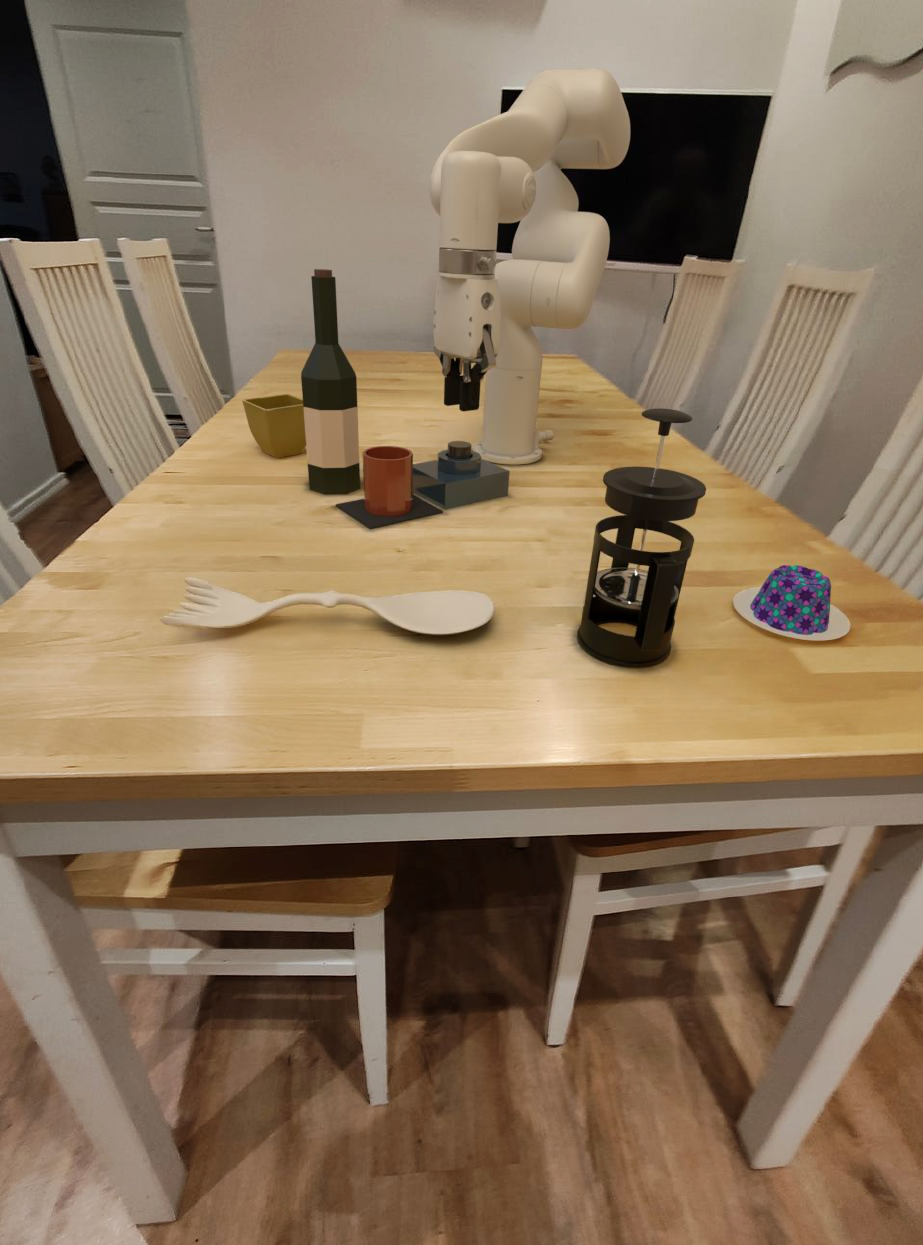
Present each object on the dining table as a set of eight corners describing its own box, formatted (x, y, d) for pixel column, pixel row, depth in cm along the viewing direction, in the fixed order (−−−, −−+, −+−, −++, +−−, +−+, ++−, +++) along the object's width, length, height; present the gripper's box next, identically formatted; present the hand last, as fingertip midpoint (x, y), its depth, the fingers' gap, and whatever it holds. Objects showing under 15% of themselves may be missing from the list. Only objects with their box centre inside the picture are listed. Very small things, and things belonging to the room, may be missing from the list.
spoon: (190, 601, 72) (185, 572, 70) (488, 604, 74) (490, 575, 73) (163, 647, 64) (156, 615, 62) (497, 647, 67) (500, 617, 65)
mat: (405, 492, 104) (405, 490, 104) (443, 513, 97) (443, 510, 97) (335, 506, 98) (335, 504, 98) (370, 529, 91) (370, 527, 91)
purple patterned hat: (864, 653, 69) (882, 608, 66) (741, 638, 70) (754, 593, 68) (829, 599, 79) (844, 558, 76) (723, 587, 81) (734, 546, 78)
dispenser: (469, 478, 112) (471, 441, 109) (507, 496, 105) (510, 458, 102) (407, 490, 105) (407, 451, 102) (444, 510, 99) (446, 469, 96)
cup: (396, 496, 101) (395, 443, 97) (421, 510, 97) (422, 455, 93) (356, 504, 98) (354, 449, 94) (380, 519, 93) (378, 462, 89)
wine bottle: (351, 497, 101) (341, 273, 86) (298, 492, 103) (280, 269, 87) (368, 480, 108) (362, 270, 93) (319, 475, 110) (305, 266, 95)
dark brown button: (461, 452, 105) (462, 439, 104) (475, 459, 102) (476, 445, 101) (442, 456, 103) (443, 442, 102) (456, 462, 100) (457, 448, 99)
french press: (564, 617, 73) (595, 396, 61) (648, 615, 74) (694, 398, 62) (596, 680, 63) (640, 430, 51) (692, 677, 64) (757, 431, 52)
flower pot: (271, 463, 114) (265, 409, 109) (247, 451, 119) (241, 398, 115) (316, 455, 119) (313, 403, 114) (292, 443, 124) (287, 393, 120)
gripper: (529, 269, 86) (517, 417, 95) (453, 261, 97) (449, 394, 106) (482, 269, 82) (474, 423, 91) (409, 261, 93) (409, 398, 102)
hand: (461, 406), depth 99 cm, fingers open, 3 cm apart
